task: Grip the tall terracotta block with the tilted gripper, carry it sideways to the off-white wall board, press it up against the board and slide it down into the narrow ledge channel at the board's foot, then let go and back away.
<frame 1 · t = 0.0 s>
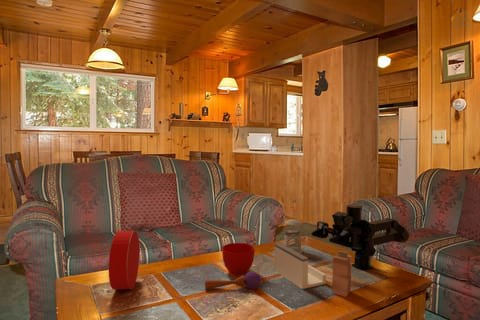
hand: (320, 237, 129), 17 cm above the table, tool horizontal, fingers open, 9 cm apart
cleat board: (303, 278, 130), on the table
ceramic cup: (237, 270, 138), on the table
french press: (294, 251, 163), on the table
kendama: (232, 289, 122), on the table
block: (341, 292, 119), on the table
toy clock: (125, 287, 121), on the table
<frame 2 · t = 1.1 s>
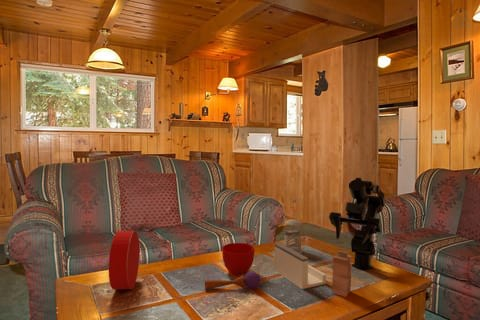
hand: (349, 240, 125), 17 cm above the table, tool tilted 45°, fingers open, 9 cm apart
nothing on the table moved.
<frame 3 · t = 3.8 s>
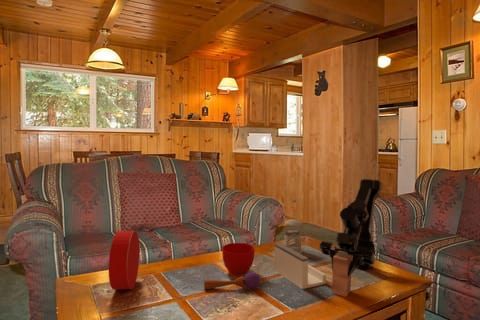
hand: (340, 273, 118), 7 cm above the table, tool tilted 45°, fingers closed on block, 5 cm apart
block: (341, 292, 119), on the table, touching gripper
everything else where it was.
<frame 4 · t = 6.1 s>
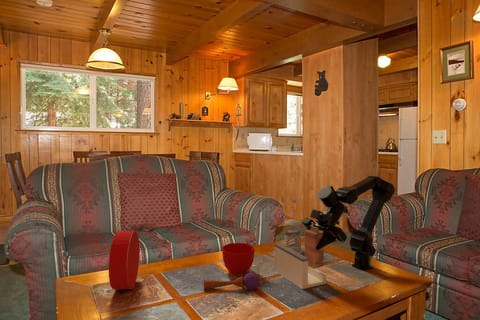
hand: (311, 247, 126), 13 cm above the table, tool tilted 45°, fingers closed on block, 5 cm apart
block: (313, 265, 127), point 6 cm above the table, touching gripper
everything else where it was.
when the fingers open (9 cm above the table, at t = 8.3 s): block drops 1 cm, resting on cleat board.
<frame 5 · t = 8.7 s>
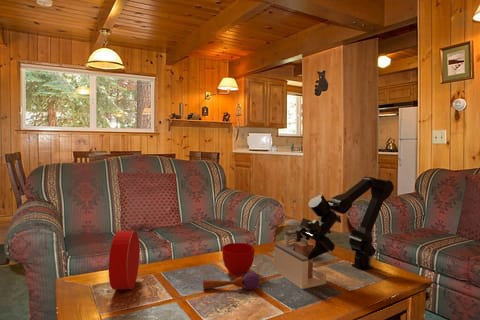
hand: (300, 255, 129), 10 cm above the table, tool tilted 45°, fingers open, 9 cm apart
block: (303, 276, 130), point 1 cm above the table, touching cleat board
everything else where it was.
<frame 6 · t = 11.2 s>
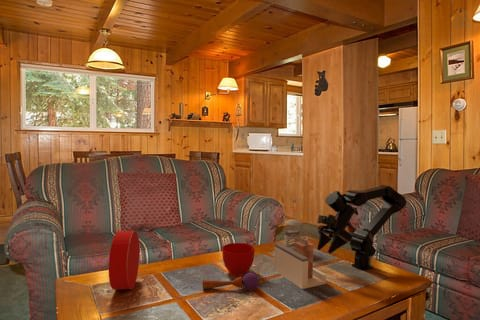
hand: (323, 251, 133), 10 cm above the table, tool tilted 35°, fingers open, 9 cm apart
nothing on the table moved.
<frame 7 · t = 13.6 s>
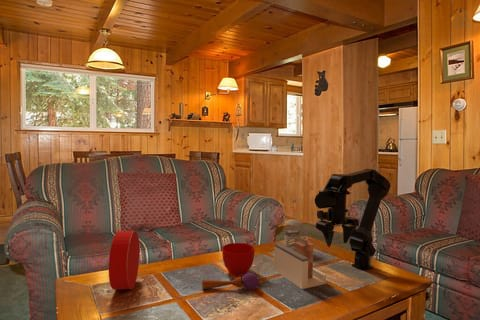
hand: (337, 244, 134), 12 cm above the table, tool pointing down, fingers open, 9 cm apart
at the end: block inside the target area on the cleat board (0.3 cm from its centre), point 1.0 cm above the cleat board's base; block tilted 0°; the gripper is holding nothing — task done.
